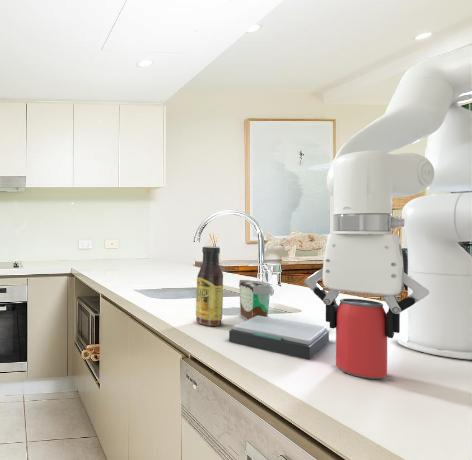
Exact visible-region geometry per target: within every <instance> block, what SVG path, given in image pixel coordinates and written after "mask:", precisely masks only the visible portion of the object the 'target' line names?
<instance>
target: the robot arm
mask: <svg viewBox="0 0 472 460" xmlns="http://www.w3.org/2000/svg"><path fill="white" fill-rule="evenodd" d="M470 101H472V44H470V45H466V46H463V47H460V48H457V49H454V50H451V51H447V52H445V53H444V52H443V53H442V54H437V55H435V56H432V57H429V58H426V59H424V60H422V61H419V62H417V63H415V64H414V65H412V66H411V67H409V68H408V69H407V70H406V71H405V72H404V74H403V75H402V76H401V78H400V81H399V83H398V85H397V87H396V89H395V91H394V93H393V94H392V97H391V99H390V100H389V104H388V105H387V107H386V110H385V112H384V113H383V114H382V115H380V116H379V117H377V118H376V119H375V120H373V121H372V122H370V123H368V124H367V125H366V126H364V127H363V128H362V129H360V130H358V132H356V133H355V134H353V135H352V136H351V137H350V138H348V140H346V141H345V142H344V143H343V144H342V145H341V146H340V148H339V149H338V151H337V152H336V154H335V156H334V158H333V160H332V162H331V164H330V166H329V169H328V172H327V176H326V188H327V191H328V193H329V195H331V196H332V197H333V202H332V203H333V204H332V205H333V209H332V210H333V214H332V216H333V217H332V220H333V221H332V224H333V225H332V233H328V235H327V237H326V238H327V239H326V242H325V249H324V254H323V266H322V268H320V269H319V270H316V272H314V273H313V274H311V275H310V276H309V277H306V278H305V279H304V281H303V282H304V284H305V285H306V286H307V287H308V288H309V289H310V290H311V291H312V292H313V294H314V295H315V296H317V298H319V299H320V300H321V301H322V302H323V304H324V305H325V323H329V328H330V329H333V330H334V329H336V311H337V308H338V306H339V304H338V303H337V298H338V297H339V295H340V294H341V292H345V293H353V294H354V293H355V294H362V295H372V296H381V297H382V298H383V300H384V302H385V304H386V305H387V306H388V310H387V311H386V337H387V339H394V336H395V333H396V334H400V331H401V313H402V312H403V311H405V310H407V334H401V335H399V336H397V339H396V340H397V341H396V342H397V343H398V344H399V345H401V346H402V347H405V348H406V349H411V350H413V351H417V352H421V353H424V354H430V355H434V356H440V357H445V358H452V359H460V360H470V361H471V360H472V255H471V254H469V252H467V251H466V249H465V248H463V247H462V246H461V245H460V244H459V243H463V242H464V243H465V242H472V110H470V109H468V108H466V107H463V106H461V105H460V104H461V103H466V102H470ZM425 138H427V141H426V146H425V151H424V156H423V155H421V154H418V153H414V152H400V153H391V152H394V151H397V150H399V149H402V148H405V147H406V146H409V145H412V144H414V143H416V142H419V141H420V140H423V139H425ZM427 190H428V191H430V192H435V193H434V194H426V195H421V196H418V197H415V198H413V199H411V200H409V201H408V202H406V203H405V204H404V206H403V207H402V210H401V218H399V217H395V216H393V198H394V199H395V198H406V197H413V196H417V195H419V194H422V193H424V192H425V191H427ZM396 228H403V231H404V235H405V241H406V249H407V273H405V269H404V256H403V255H404V254H403V247H402V243H401V239H400V235H399V234H393V230H394V229H396ZM321 279H322V285H323V286H324V287H325V288H326V289H329V290H328V291H326V290H325V289H324V288H323V287H321V286H320V285H319V284H318V281H319V280H321ZM404 286H406V287H407V296H406V297H404V298H402V299H401V300H399V298H398V297H397V296H398V295H399V294H400V293H401V292H402V291H403V290H404V288H405V287H404Z"/></svg>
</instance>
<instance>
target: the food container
mask: <svg viewBox="0 0 472 460" xmlns="http://www.w3.org/2000/svg"><path fill="white" fill-rule="evenodd" d="M238 287H239V311H240V312H239V314H240V315H239V316H240V317H241V318H243V319H244V320H245V321H246V320H249V319H251V318H253V317H255V316H264V317H269V308H270V307H269V306H270V296H271V294H273V292H274V291H273V287H272V286H271V283H269V282H266V281H257V280H250V279H239V281H238Z"/></svg>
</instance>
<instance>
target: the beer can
mask: <svg viewBox="0 0 472 460" xmlns="http://www.w3.org/2000/svg"><path fill="white" fill-rule="evenodd" d="M339 302H340V303H339V304H338V308H337V311H336V328H335V366H336V367H337V369H339V370H340V371H342V372H344V373H346V374H347V375H349V376H354V377H358V378H363V379H369V380H381V379H384V378H386V377H387V376H388V337H386V313H387V311H385V308H384V303H382V302H380V301H375V300H371V299H370V300H367V299H360V298H341V299H339Z"/></svg>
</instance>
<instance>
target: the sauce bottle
mask: <svg viewBox="0 0 472 460" xmlns="http://www.w3.org/2000/svg"><path fill="white" fill-rule="evenodd" d="M201 251H202V263H201V266H200V269H199V271H198V273H197V277H196V294H195V295H196V297H195V316H196V317H195V319H196V323H198V324H200V325H203V326H206V327H208V326H209V327H216V326H217V327H218V326H221V325H222V321H223V320H222V319H223V307H224V304H223V303H224V273H223V271H222V269H221V268H220V261H219V258H220V257H219V256H220V252H221V248H220V247H219V246H211V245H206V246H205V245H203V246H202V250H201Z"/></svg>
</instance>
